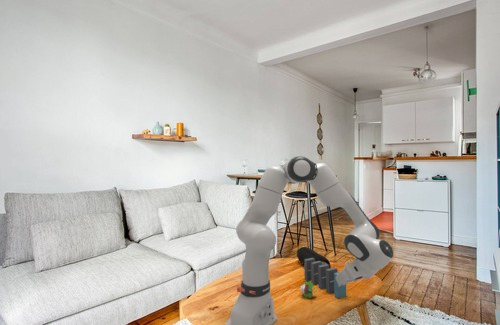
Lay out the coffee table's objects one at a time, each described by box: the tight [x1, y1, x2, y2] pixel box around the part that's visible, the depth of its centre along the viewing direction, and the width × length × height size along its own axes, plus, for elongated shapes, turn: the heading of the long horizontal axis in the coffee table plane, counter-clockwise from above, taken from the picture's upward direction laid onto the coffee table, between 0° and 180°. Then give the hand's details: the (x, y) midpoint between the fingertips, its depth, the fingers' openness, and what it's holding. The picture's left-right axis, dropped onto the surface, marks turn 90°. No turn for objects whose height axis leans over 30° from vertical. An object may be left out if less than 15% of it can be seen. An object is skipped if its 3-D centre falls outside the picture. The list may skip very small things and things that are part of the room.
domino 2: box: [310, 261, 322, 286], centre depth 147 cm, size 2×6×11 cm, turn 118°
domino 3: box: [318, 264, 329, 290], centre depth 142 cm, size 2×6×11 cm, turn 118°
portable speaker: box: [296, 246, 332, 269], centre depth 169 cm, size 26×10×10 cm, turn 17°
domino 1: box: [303, 258, 315, 282], centre depth 152 cm, size 2×6×11 cm, turn 118°
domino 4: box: [325, 266, 338, 295], centre depth 138 cm, size 2×6×11 cm, turn 118°
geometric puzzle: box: [299, 280, 317, 299], centre depth 133 cm, size 7×7×8 cm
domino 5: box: [333, 271, 347, 299], centre depth 133 cm, size 2×6×11 cm, turn 118°
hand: (347, 282), depth 129 cm, fingers open, 8 cm apart
